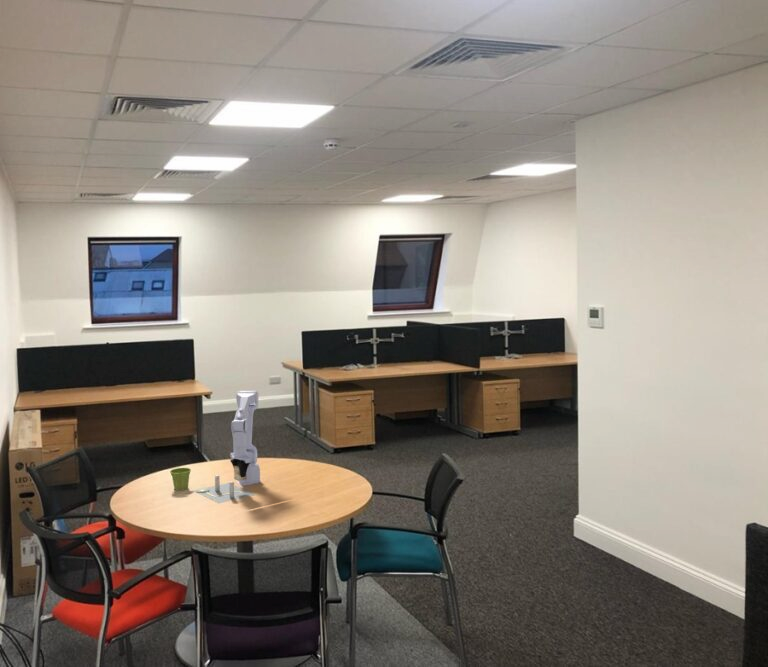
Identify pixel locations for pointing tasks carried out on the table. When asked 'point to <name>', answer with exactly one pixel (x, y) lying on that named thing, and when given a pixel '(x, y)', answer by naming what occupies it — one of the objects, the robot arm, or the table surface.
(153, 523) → the table surface
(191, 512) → the table surface
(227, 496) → the board
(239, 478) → the block
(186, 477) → the plant pot
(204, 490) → the pad
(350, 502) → the table surface
